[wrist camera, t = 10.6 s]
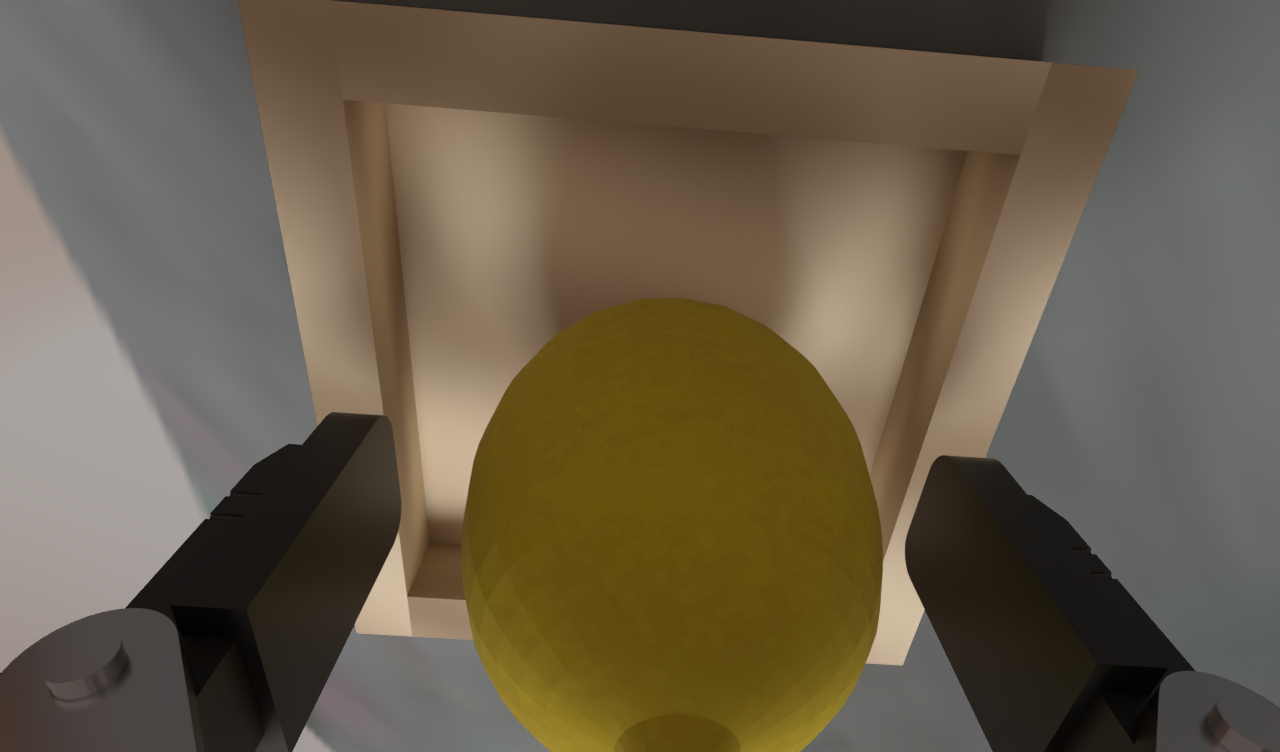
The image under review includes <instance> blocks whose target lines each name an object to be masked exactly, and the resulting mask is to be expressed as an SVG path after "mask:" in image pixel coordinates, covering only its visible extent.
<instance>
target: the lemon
mask: <svg viewBox="0 0 1280 752" xmlns="http://www.w3.org/2000/svg"><path fill="white" fill-rule="evenodd" d="M461 567H462V581H463V589H464V595H465V600H466V605H467V611H468V616H469V621H470V626H471V631H472V636H473V640H474V645H475V648H476V650H477V652H478V655H479V657H480V659H481V661H482V664H483V666H484V668H485V670H486V672H487V674H488V676H489V678H490V679H491V681H492V683H493V685H494V686H495V688H496V690H497V692H498V694H499V695H500V697H501V699H502V700H503V702H504V703H505V704H506V706H507V707H508V708H509V710H510V711H511V712H512V714H513V715H514V716H515V718H516V719H517V720H518V721H519V722H520V723H521V724H522V725H523V726H524V727H525V728H526V729H527V730H528V731H529V732H530V733H531V734H532V735H533V736H534V737H535V738H536V739H537V740H538V741H539V742H541V743H542V744H543V745H544V746H545V747H546V748H547V749H548V750H550V751H551V752H800V751H801V750H803V749H804V748H805V747H806V746H807V745H808V744H809V743H810V742H811V741H812V740H813V739H814V738H815V737H816V736H817V735H818V734H819V733H820V732H821V731H822V730H823V729H824V728H825V726H826V725H827V724H828V723H829V722H830V721H831V720H832V718H833V717H834V716H835V715H836V714H837V713H838V712H839V711H840V709H841V708H842V706H843V705H844V703H845V702H846V700H847V699H848V697H849V696H850V694H851V693H852V691H853V690H854V688H855V686H856V683H857V681H858V679H859V677H860V674H861V672H862V670H863V668H864V665H865V663H866V661H867V659H868V656H869V653H870V651H871V648H872V645H873V642H874V639H875V637H876V634H877V628H878V621H879V614H880V604H881V590H882V576H883V543H882V532H881V523H880V517H879V511H878V506H877V501H876V497H875V494H874V490H873V486H872V483H871V479H870V476H869V472H868V468H867V465H866V461H865V457H864V454H863V450H862V447H861V443H860V441H859V438H858V436H857V433H856V431H855V428H854V426H853V424H852V422H851V421H850V419H849V417H848V415H847V413H846V412H845V410H844V409H843V407H842V406H841V404H840V403H839V401H838V400H837V398H836V397H835V395H834V394H833V392H832V391H831V389H830V388H829V387H828V385H827V384H826V382H825V381H824V379H823V378H822V376H821V375H820V373H819V372H818V371H817V369H816V368H815V367H814V366H813V364H812V363H811V362H810V361H809V360H808V359H806V358H805V357H804V356H803V355H802V354H801V353H800V352H798V351H797V350H796V349H795V348H794V347H792V346H791V345H790V344H789V343H788V342H786V341H785V340H784V339H783V338H781V337H780V336H779V335H778V334H777V333H775V332H774V331H773V330H772V329H770V328H769V327H767V326H766V325H764V324H762V323H760V322H758V321H756V320H754V319H752V318H749V317H747V316H745V315H743V314H741V313H739V312H736V311H734V310H732V309H730V308H728V307H726V306H723V305H717V304H712V303H707V302H701V301H696V300H690V299H685V298H679V297H677V298H659V299H641V300H634V301H631V302H628V303H624V304H621V305H618V306H614V307H611V308H607V309H604V310H601V311H597V312H594V313H592V314H590V315H589V316H587V317H585V318H584V319H582V320H580V321H579V322H577V323H575V324H573V325H572V326H570V327H568V328H567V329H565V330H563V331H562V332H560V333H558V334H557V335H556V336H554V337H553V338H552V339H550V340H549V341H548V342H547V343H546V344H545V345H544V346H543V347H542V349H541V350H540V351H539V352H538V353H537V354H536V355H535V356H534V357H533V358H532V359H531V360H530V361H529V362H528V363H527V364H526V365H525V366H524V367H523V368H522V369H521V370H520V372H519V373H518V374H517V375H516V376H515V377H514V379H513V380H512V381H511V383H510V385H509V386H508V388H507V389H506V391H505V393H504V395H503V396H502V398H501V400H500V402H499V404H498V406H497V408H496V410H495V412H494V414H493V416H492V417H491V419H490V421H489V423H488V425H487V427H486V429H485V431H484V433H483V436H482V438H481V440H480V442H479V445H478V448H477V451H476V455H475V458H474V461H473V467H472V472H471V477H470V483H469V489H468V495H467V501H466V507H465V513H464V519H463V529H462V539H461Z"/></svg>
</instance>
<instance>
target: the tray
mask: <svg viewBox="0 0 1280 752" xmlns="http://www.w3.org/2000/svg"><path fill="white" fill-rule="evenodd" d="M238 3H239V9H240V14H241V19H242V25H243V30H244V35H245V41H246V46H247V51H248V57H249V62H250V67H251V73H252V78H253V83H254V89H255V94H256V100H257V105H258V110H259V116H260V121H261V126H262V132H263V137H264V142H265V148H266V153H267V158H268V164H269V169H270V174H271V180H272V185H273V190H274V196H275V201H276V206H277V212H278V217H279V222H280V228H281V233H282V238H283V244H284V249H285V254H286V260H287V265H288V270H289V276H290V281H291V286H292V292H293V297H294V302H295V308H296V313H297V318H298V324H299V329H300V334H301V340H302V345H303V350H304V356H305V361H306V366H307V372H308V377H309V382H310V388H311V393H312V398H313V404H314V409H315V414H316V420H317V425H319V424H320V423H321V422H322V420H323V419H324V418H325V417H326V416H327V415H328V414H329V413H332V412H341V413H356V414H370V415H384V416H387V417H388V418H389V420H390V422H391V425H392V429H393V436H394V444H395V452H396V460H397V469H398V477H399V485H400V493H401V506H402V508H401V520H400V525H399V530H398V534H397V537H396V540H395V542H394V545H393V547H392V549H391V551H390V553H389V555H388V557H387V559H386V561H385V563H384V565H383V567H382V569H381V571H380V573H379V575H378V577H377V580H376V582H375V584H374V586H373V588H372V590H371V592H370V594H369V596H368V598H367V600H366V602H365V604H364V606H363V608H362V610H361V612H360V614H359V616H358V618H357V620H356V622H355V628H356V633H363V634H380V635H397V636H414V637H431V638H448V639H465V640H473V636H472V631H471V626H470V621H469V616H468V611H467V605H466V600H465V595H464V589H463V581H462V567H461V539H462V529H463V519H464V513H465V507H466V501H467V495H468V489H469V483H470V477H471V472H472V467H473V461H474V458H475V455H476V451H477V448H478V445H479V442H480V440H481V438H482V436H483V433H484V431H485V429H486V427H487V425H488V423H489V421H490V419H491V417H492V416H493V414H494V412H495V410H496V408H497V406H498V404H499V402H500V400H501V398H502V396H503V395H504V393H505V391H506V389H507V388H508V386H509V385H510V383H511V381H512V380H513V379H514V377H515V376H516V375H517V374H518V373H519V372H520V370H521V369H522V368H523V367H524V366H525V365H526V364H527V363H528V362H529V361H530V360H531V359H532V358H533V357H534V356H535V355H536V354H537V353H538V352H539V351H540V350H541V349H542V347H543V346H544V345H545V344H546V343H547V342H548V341H549V340H550V339H552V338H553V337H554V336H556V335H557V334H558V333H560V332H562V331H563V330H565V329H567V328H568V327H570V326H572V325H573V324H575V323H577V322H579V321H580V320H582V319H584V318H585V317H587V316H589V315H590V314H592V313H594V312H597V311H601V310H604V309H607V308H611V307H614V306H618V305H621V304H624V303H628V302H631V301H634V300H641V299H659V298H677V297H679V298H685V299H690V300H696V301H701V302H707V303H712V304H717V305H723V306H726V307H728V308H730V309H732V310H734V311H736V312H739V313H741V314H743V315H745V316H747V317H749V318H752V319H754V320H756V321H758V322H760V323H762V324H764V325H766V326H767V327H769V328H770V329H772V330H773V331H774V332H775V333H777V334H778V335H779V336H780V337H781V338H783V339H784V340H785V341H786V342H788V343H789V344H790V345H791V346H792V347H794V348H795V349H796V350H797V351H798V352H800V353H801V354H802V355H803V356H804V357H805V358H806V359H808V360H809V361H810V362H811V363H812V364H813V366H814V367H815V368H816V369H817V371H818V372H819V373H820V375H821V376H822V378H823V379H824V381H825V382H826V384H827V385H828V387H829V388H830V389H831V391H832V392H833V394H834V395H835V397H836V398H837V400H838V401H839V403H840V404H841V406H842V407H843V409H844V410H845V412H846V413H847V415H848V417H849V419H850V421H851V422H852V424H853V426H854V428H855V431H856V433H857V436H858V438H859V441H860V443H861V447H862V450H863V454H864V457H865V461H866V465H867V468H868V472H869V476H870V479H871V483H872V486H873V490H874V494H875V497H876V501H877V506H878V511H879V517H880V523H881V532H882V543H883V576H882V590H881V604H880V614H879V621H878V628H877V634H876V637H875V639H874V642H873V645H872V648H871V651H870V653H869V656H868V659H867V661H866V663H871V664H888V665H903V663H904V660H905V658H906V655H907V653H908V650H909V648H910V645H911V643H912V640H913V638H914V635H915V633H916V630H917V628H918V625H919V623H920V620H921V618H922V615H923V612H924V610H925V609H924V607H923V605H922V603H921V601H920V599H919V596H918V594H917V592H916V590H915V588H914V586H913V584H912V582H911V580H910V577H909V575H908V572H907V568H906V562H905V541H906V536H907V533H908V530H909V527H910V524H911V521H912V518H913V516H914V513H915V510H916V507H917V504H918V501H919V498H920V496H921V493H922V490H923V487H924V484H925V481H926V479H927V476H928V473H929V470H930V468H931V465H932V464H933V462H934V461H935V459H936V458H938V457H939V456H942V455H948V456H962V457H977V458H985V457H986V454H987V452H988V449H989V447H990V444H991V442H992V439H993V437H994V434H995V431H996V429H997V426H998V424H999V421H1000V419H1001V416H1002V414H1003V411H1004V409H1005V406H1006V404H1007V401H1008V399H1009V396H1010V394H1011V391H1012V389H1013V386H1014V384H1015V381H1016V379H1017V376H1018V374H1019V371H1020V369H1021V366H1022V364H1023V361H1024V359H1025V356H1026V354H1027V351H1028V349H1029V346H1030V343H1031V341H1032V338H1033V336H1034V333H1035V331H1036V328H1037V326H1038V323H1039V321H1040V318H1041V316H1042V313H1043V311H1044V308H1045V306H1046V303H1047V301H1048V298H1049V296H1050V293H1051V291H1052V288H1053V286H1054V283H1055V281H1056V278H1057V276H1058V273H1059V271H1060V268H1061V266H1062V263H1063V261H1064V258H1065V255H1066V253H1067V250H1068V248H1069V245H1070V243H1071V240H1072V238H1073V235H1074V233H1075V230H1076V228H1077V225H1078V223H1079V220H1080V218H1081V215H1082V213H1083V210H1084V208H1085V205H1086V203H1087V200H1088V198H1089V195H1090V193H1091V190H1092V188H1093V185H1094V183H1095V180H1096V178H1097V175H1098V173H1099V170H1100V167H1101V165H1102V162H1103V160H1104V157H1105V155H1106V152H1107V150H1108V147H1109V145H1110V142H1111V140H1112V137H1113V135H1114V132H1115V130H1116V127H1117V125H1118V122H1119V120H1120V117H1121V115H1122V112H1123V110H1124V107H1125V105H1126V102H1127V100H1128V97H1129V95H1130V92H1131V90H1132V87H1133V85H1134V82H1135V80H1136V77H1137V74H1138V72H1139V70H1133V69H1122V68H1110V67H1098V66H1087V65H1075V64H1064V63H1052V62H1040V61H1029V60H1017V59H1006V58H994V57H982V56H971V55H959V54H948V53H936V52H925V51H913V50H901V49H890V48H878V47H867V46H855V45H843V44H832V43H820V42H809V41H797V40H785V39H774V38H762V37H751V36H739V35H728V34H716V33H704V32H693V31H681V30H670V29H658V28H646V27H635V26H623V25H612V24H600V23H588V22H577V21H565V20H554V19H542V18H531V17H519V16H507V15H496V14H484V13H473V12H461V11H449V10H438V9H426V8H415V7H403V6H391V5H380V4H368V3H357V2H345V1H334V0H238Z"/></svg>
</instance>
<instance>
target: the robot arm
mask: <svg viewBox="0 0 1280 752" xmlns="http://www.w3.org/2000/svg"><path fill="white" fill-rule="evenodd" d="M230 492H231V493H230V496H229V497H227V496H226V497H225V498H224V499H223V500H222V501H221V502H220V503H219V504H218V505H217V507H216V508H215V509H214V510H213V511H212V512H211V516H210V519H205V520H204V521H203V522H202V523H201V524H200V526H199V527H198V528H197V529H196V530H195V531H194V532H193V533H192V534H191V536H190V537H189V538H188V539H187V540H186V541H185V542H184V543H183V545H182V546H181V547H180V548H179V549H178V550H177V551H176V552H175V553H174V554H173V556H172V557H171V558H170V559H169V560H168V561H167V562H166V563H165V565H164V566H163V567H162V568H161V569H160V570H159V571H158V572H157V573H156V574H155V576H154V577H153V578H152V579H151V580H150V581H149V583H147V585H146V586H145V587H144V588H143V589H142V590H141V591H140V592H139V593H138V595H137V596H136V597H135V598H134V599H133V600H132V601H131V602H130V603H129V605H128V606H127V607H126V608H125V609H116V610H111V611H106V612H101V613H98V614H95V615H91V616H88V617H85V618H83V619H80V620H77V621H74V622H72V623H70V624H68V625H66V626H63V627H61V628H59V629H57V630H55V631H54V632H52V633H50V634H49V635H47V636H45V637H43V638H42V639H40V640H39V641H37V642H36V643H34V644H33V645H31V646H30V647H29V648H27V649H26V650H25V651H23V652H22V653H21V654H20V655H19V656H18V657H17V658H15V659H14V660H13V661H12V662H11V663H10V664H9V665H8V666H7V667H6V668H5V669H4V670H3V671H2V673H0V752H292V751H293V749H294V747H295V745H296V743H297V741H298V739H299V737H300V735H301V733H302V730H303V729H304V727H305V725H306V723H307V720H308V718H309V716H310V714H311V712H312V710H313V708H314V706H315V704H316V702H317V700H318V698H319V696H320V694H321V692H322V690H323V688H324V686H325V684H326V682H327V680H328V678H329V676H330V673H331V671H332V669H333V667H334V665H335V663H336V661H337V659H338V657H339V655H340V653H341V651H342V649H343V647H344V645H345V643H346V641H347V639H348V637H349V635H350V633H351V631H352V629H353V626H354V624H355V622H356V620H357V618H358V616H359V614H360V612H361V610H362V608H363V606H364V604H365V602H366V600H367V598H368V596H369V594H370V592H371V590H372V588H373V586H374V584H375V582H376V580H377V577H378V575H379V573H380V571H381V569H382V567H383V565H384V563H385V561H386V559H387V557H388V555H389V553H390V551H391V549H392V547H393V545H394V542H395V540H396V537H397V534H398V530H399V525H400V520H401V508H402V506H401V493H400V485H399V477H398V469H397V460H396V452H395V444H394V436H393V429H392V425H391V422H390V420H389V418H388V417H387V416H384V415H370V414H356V413H341V412H332V413H329V414H328V415H327V416H326V417H325V418H324V419H323V420H322V422H321V423H320V424H319V425H318V426H317V428H316V429H315V430H314V431H313V432H312V434H311V435H310V436H309V437H308V439H307V440H306V441H305V442H304V443H303V445H296V444H288V445H286V446H285V447H283V448H281V449H280V450H278V451H276V452H275V453H273V454H271V455H270V456H268V457H266V458H265V459H263V460H261V461H260V462H258V463H256V464H255V465H253V467H252V468H251V469H250V470H249V471H248V472H247V473H246V474H245V475H244V477H243V478H242V479H241V480H240V481H239V482H238V483H237V484H236V485H235V487H234V488H233V489H232V490H231V491H230ZM905 562H906V568H907V572H908V575H909V577H910V580H911V582H912V584H913V586H914V588H915V590H916V592H917V594H918V596H919V599H920V601H921V603H922V605H923V607H924V609H925V611H926V613H927V615H928V617H929V619H930V621H931V624H932V626H933V628H934V630H935V632H936V634H937V636H938V638H939V640H940V642H941V644H942V647H943V649H944V651H945V653H946V655H947V657H948V659H949V661H950V663H951V665H952V667H953V669H954V672H955V674H956V676H957V678H958V680H959V682H960V684H961V686H962V688H963V690H964V692H965V695H966V697H967V699H968V701H969V703H970V705H971V707H972V709H973V711H974V713H975V715H976V717H977V720H978V722H979V724H980V726H981V728H982V730H983V732H984V734H985V736H986V738H987V740H988V743H989V745H990V747H991V749H992V751H993V752H1280V707H1278V706H1277V705H1275V704H1274V703H1272V702H1271V701H1269V700H1268V699H1266V698H1264V697H1263V696H1261V695H1259V694H1258V693H1256V692H1254V691H1252V690H1250V689H1248V688H1246V687H1244V686H1242V685H1240V684H1238V683H1235V682H1233V681H1230V680H1228V679H1225V678H1222V677H1219V676H1216V675H1213V674H1208V673H1204V672H1197V671H1195V670H1194V669H1193V668H1192V666H1191V665H1190V664H1189V663H1188V662H1187V661H1186V659H1185V658H1184V657H1183V656H1182V655H1181V654H1180V652H1179V651H1178V650H1177V649H1176V648H1175V646H1174V645H1173V644H1172V643H1171V642H1170V641H1169V639H1168V638H1167V637H1166V636H1165V635H1164V634H1163V632H1162V631H1161V630H1160V629H1159V628H1158V627H1157V625H1156V624H1155V623H1154V622H1153V621H1152V620H1151V618H1150V617H1149V616H1148V615H1147V614H1146V613H1145V611H1144V610H1143V609H1142V608H1141V607H1140V606H1139V604H1138V603H1137V602H1136V601H1135V600H1134V599H1133V597H1132V596H1131V595H1130V594H1129V593H1128V591H1127V590H1126V589H1125V588H1124V587H1123V586H1122V584H1121V583H1120V582H1119V581H1118V580H1117V579H1112V577H1111V572H1110V570H1109V569H1108V568H1107V567H1106V566H1105V565H1104V563H1103V562H1102V561H1101V560H1100V559H1099V558H1098V556H1097V555H1095V554H1091V548H1090V547H1089V546H1088V545H1087V544H1086V542H1085V541H1084V540H1083V539H1082V538H1081V536H1080V535H1079V534H1078V533H1077V532H1076V531H1075V529H1074V528H1073V527H1072V526H1071V525H1070V524H1069V522H1068V521H1067V520H1066V519H1064V518H1063V517H1061V516H1060V515H1059V514H1057V513H1056V512H1054V511H1053V510H1052V509H1050V508H1049V507H1047V506H1046V505H1045V504H1043V503H1042V502H1041V501H1039V500H1038V499H1036V498H1035V497H1034V496H1032V495H1027V494H1026V493H1025V492H1024V490H1023V489H1022V488H1021V487H1020V485H1019V484H1018V483H1017V482H1016V481H1015V479H1014V478H1013V477H1012V476H1011V474H1010V473H1009V472H1008V471H1007V470H1006V468H1005V467H1004V466H1003V465H1002V464H1001V463H1000V462H999V461H998V460H996V459H992V458H977V457H962V456H948V455H942V456H939V457H938V458H936V459H935V461H934V462H933V464H932V465H931V468H930V470H929V473H928V476H927V479H926V481H925V484H924V487H923V490H922V493H921V496H920V498H919V501H918V504H917V507H916V510H915V513H914V516H913V518H912V521H911V524H910V527H909V530H908V533H907V536H906V541H905Z"/></svg>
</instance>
